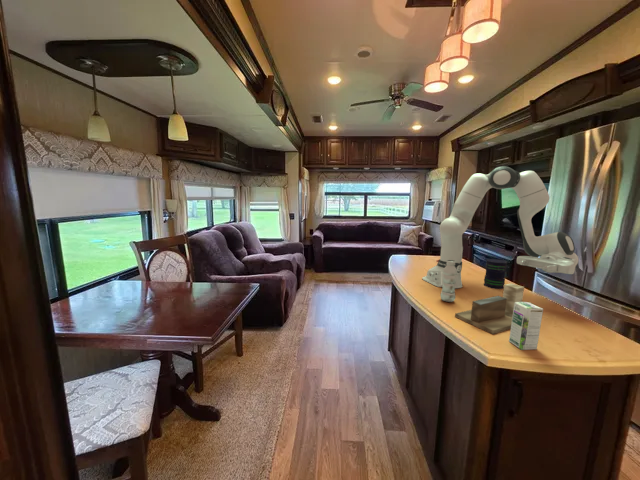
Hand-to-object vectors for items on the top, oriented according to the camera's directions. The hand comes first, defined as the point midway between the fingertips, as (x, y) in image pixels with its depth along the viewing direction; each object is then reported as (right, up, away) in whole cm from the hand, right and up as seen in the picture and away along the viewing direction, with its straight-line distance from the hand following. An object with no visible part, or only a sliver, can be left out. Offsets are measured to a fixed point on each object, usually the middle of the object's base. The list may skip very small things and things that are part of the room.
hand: (533, 265), depth 118 cm
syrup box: (-24, -25, -26) cm, 43 cm away
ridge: (-25, -22, -8) cm, 34 cm away
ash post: (-11, -21, -2) cm, 24 cm away
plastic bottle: (-31, -19, +13) cm, 39 cm away
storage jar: (+6, -15, +37) cm, 40 cm away
